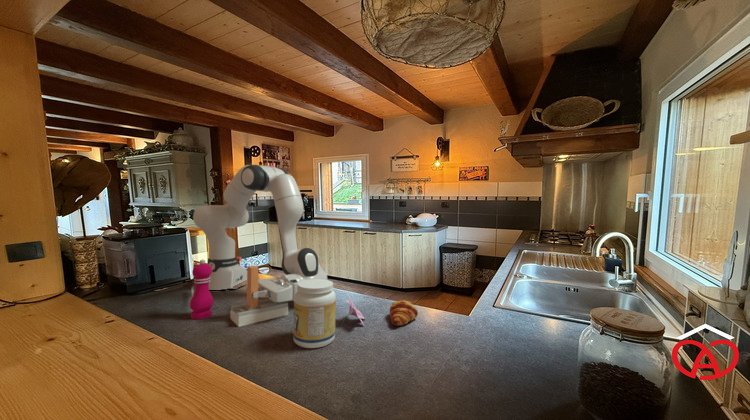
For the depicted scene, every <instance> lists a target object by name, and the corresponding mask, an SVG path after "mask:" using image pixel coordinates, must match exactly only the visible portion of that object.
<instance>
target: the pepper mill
mask: <svg viewBox="0 0 750 420" xmlns="http://www.w3.org/2000/svg"><path fill="white" fill-rule="evenodd" d="M191 273H192V276H193V277H194V278H193V280H194V281H193V283H194V285H195V289H194V293H193V294H192V297H191V299H190V301H189V309H191V312H190V313H191V314H190V318H191V319H192V320H204V319H208V318H210V317H212V316H213V310H212V307H213V306H214V303H215V302H214V298H213V296H212V294H211V291H209V282H210V277H209V276H210V275H211V273H212V268H211V266H210V265H208V263H206V260H205V259H201V260H199V264H197V265H195V266H194V267H193V268H192V271H191Z"/></svg>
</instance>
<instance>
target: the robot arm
mask: <svg viewBox="0 0 750 420" xmlns="http://www.w3.org/2000/svg"><path fill="white" fill-rule="evenodd" d="M256 191H257V192H265V193H268V192H270V193H271V195H272V198H273V201H274V202H273V203H274V207H275V210H276V217H277V223H278V224H277V225H278V234H279V239H280V246H281V251H282V258H281V270H282V271H283V273H284V274H283V275H281V276H280V277H279V278H278V279H276V278H271V277H269V278H262V279H261V278H260V279H258V291H255V292H252V297H254V298H257V297H258V298H267V299H270V300H272V301H273V302H282V303H286V302H291V301H292V302H294V296H295V294H296V293H297V292H298V291H297V288H298V283H299V282H301V281H304V280H310V279H324V280H328V274H327V273H326V271H325V270H324V269H323V268H322V266H321V264H320V261H319V257H318V253H316V251H315V250H313V249H312V248H310V247H304V248H301V249H298V245H297V244H298V243H297V238H296V227H297V224H298V222H299V221H300V220H301V218H302V216H303V214H304V208H305V207H304V202H303V199H302V198H303V197H302V195H301V194H302V193H301V190H300V188H299V186H298V183H297V182H296V180H295V177H293V175H291V174H289V172H288V171H286V170H285V169H283V168H279V167H275V166H271V165H258V164H246V165H243V166H242V167H241V168H240V169H239V170H238V171H237V172H236V173H235V175H234V176H233V177H232V179H231V180H230V182H229V184H227V186H226V188H225V189H224V191H223V199H224V201H225V202H226V203H225V204H222V205H219V204H213V205H212V204H209V205H207V204H206V205H203V206H199V207H197V208H196V209H195V211H194V212H193V215H192V220H193V223H194V224H195V226H196V227H197V228H198V229H200V230H202V232H203V233H204V235H205V236H206V239H207V243H208V258H207V264H208V265H210V266H211V268H212V273H211V275H210V276H209V277H210V282H209V290H221V289H227V288H233V286H235V285H237V284H239V283H241V282H243V281H245V280H247V269H246V268H244V267H243V266H241V265H240V264H239V263H238V262H241V261H242V259H243V257H242V256H237V257H236V241H235V239H233V238H232V237H231V236H229V235H228V234H227V230H226V229H234V228H240V227H243V226H246V225H247V223H248V221H249V218H250V214H249V211H248V210H247V206H248V203H249V202H250V200H251V199H252V198H253V196H254V195H255V193H256Z"/></svg>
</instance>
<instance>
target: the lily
mask: <svg viewBox="0 0 750 420" xmlns="http://www.w3.org/2000/svg"><path fill="white" fill-rule="evenodd" d="M346 295H347V296H348V299H349V300H348V299H346V302H347V303H348V304H349V309H348V314H347V315H346V316H345V318H344V319H343V321H342V322H341V325H343V324H344V322H345V320H346V319H347V318H348V317H349V316H350V315H351V316H353V317H356V318H358V320H359V321H360V322H361V324H362V325H363V326H365V325H364V322H363V320H364V319H365V317H364V315H363V314H362V313H361V311H360V309H361V308H360V307H356V305H355V304H354V302H353V299H352V297H351V296H350V295H349V293H347V291H346ZM362 319H363V320H362Z"/></svg>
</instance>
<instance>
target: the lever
mask: <svg viewBox="0 0 750 420" xmlns="http://www.w3.org/2000/svg"><path fill="white" fill-rule="evenodd" d="M246 270H247V285H246V303H245V304H246V305H243V308H244V309H245V310H246V311H250V310H254V309H259V308H261V307H260V306H259V305H258V301H259V297H257V298H254V297H252V292H255V291H258V280H259V270H260V268H259V267H258V266H256V265H249V266H247V269H246Z"/></svg>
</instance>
